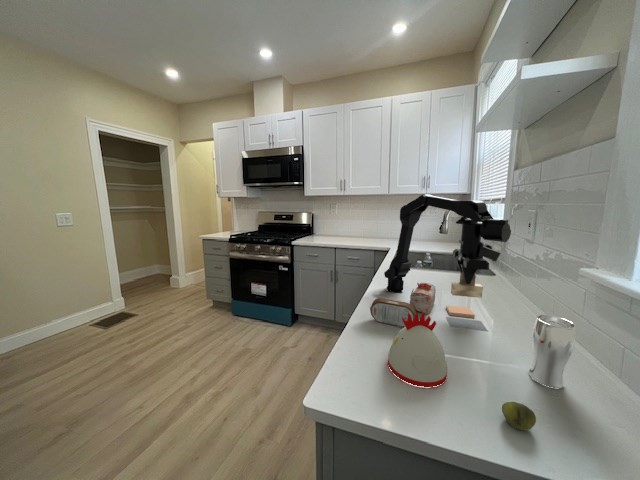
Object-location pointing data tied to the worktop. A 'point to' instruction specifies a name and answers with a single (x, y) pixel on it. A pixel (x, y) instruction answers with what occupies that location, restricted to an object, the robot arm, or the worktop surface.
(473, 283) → the cream brown stepped block
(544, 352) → the beer glass
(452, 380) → the worktop surface
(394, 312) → the tin
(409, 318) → the kitchen timer
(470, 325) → the pad
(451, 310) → the tile
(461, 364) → the worktop surface
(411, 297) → the food item
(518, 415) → the lime
